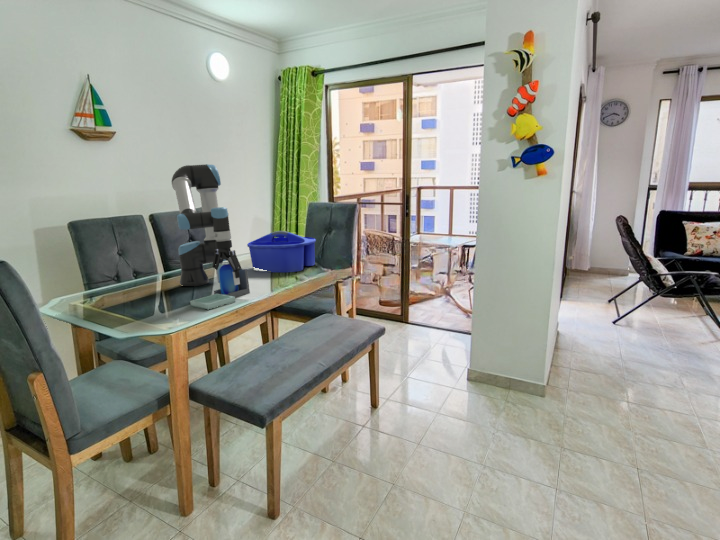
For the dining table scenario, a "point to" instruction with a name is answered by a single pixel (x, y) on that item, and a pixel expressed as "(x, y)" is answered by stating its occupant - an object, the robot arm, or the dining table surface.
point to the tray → (212, 301)
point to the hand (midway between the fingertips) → (228, 283)
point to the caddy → (282, 252)
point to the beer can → (226, 278)
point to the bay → (240, 285)
